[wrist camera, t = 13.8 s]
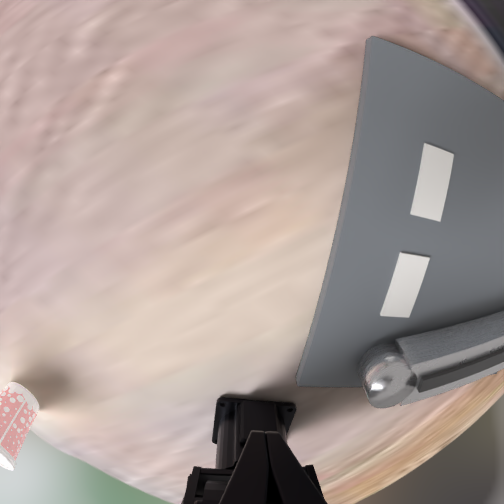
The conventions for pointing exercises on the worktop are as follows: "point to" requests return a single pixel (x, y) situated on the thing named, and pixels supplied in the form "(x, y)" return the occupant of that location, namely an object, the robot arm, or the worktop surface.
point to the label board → (411, 214)
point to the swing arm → (432, 362)
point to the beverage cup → (15, 421)
